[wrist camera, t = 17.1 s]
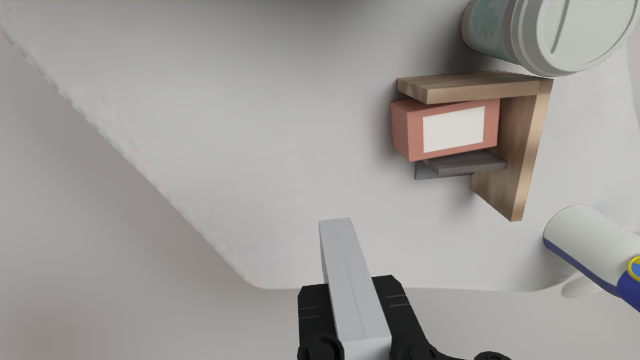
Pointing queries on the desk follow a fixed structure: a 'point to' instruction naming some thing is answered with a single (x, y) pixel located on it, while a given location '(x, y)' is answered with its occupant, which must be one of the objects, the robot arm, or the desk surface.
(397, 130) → the red box
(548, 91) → the shelf
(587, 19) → the coffee cup
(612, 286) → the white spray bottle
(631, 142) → the desk surface
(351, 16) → the desk surface
